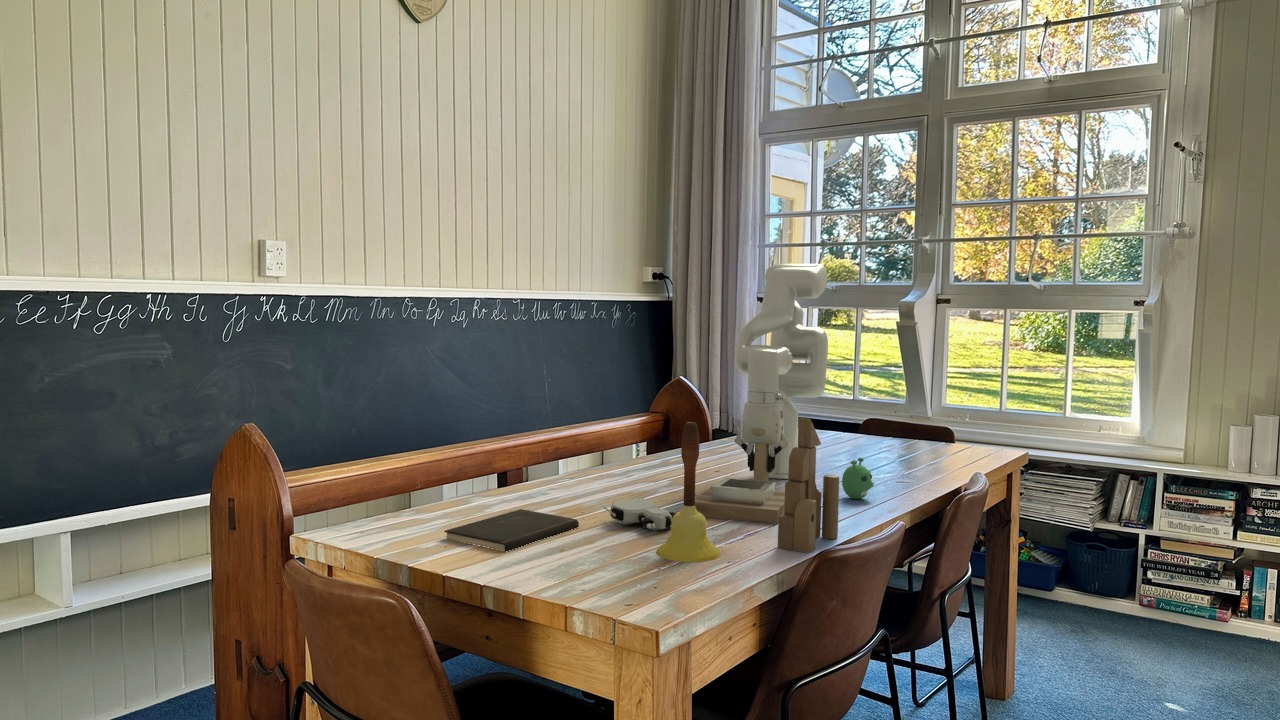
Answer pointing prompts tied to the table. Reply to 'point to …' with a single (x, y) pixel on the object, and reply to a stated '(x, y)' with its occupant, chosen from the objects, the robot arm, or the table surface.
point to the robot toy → (641, 513)
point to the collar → (743, 490)
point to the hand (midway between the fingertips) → (761, 470)
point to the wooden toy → (807, 497)
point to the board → (741, 508)
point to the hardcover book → (512, 529)
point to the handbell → (689, 512)
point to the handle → (760, 457)
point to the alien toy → (857, 480)
